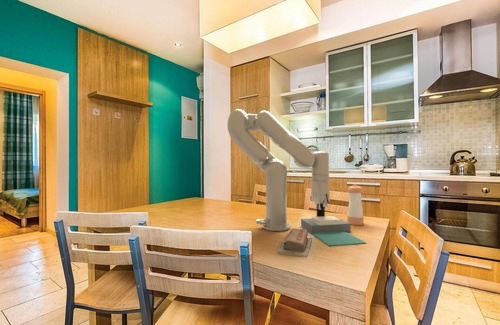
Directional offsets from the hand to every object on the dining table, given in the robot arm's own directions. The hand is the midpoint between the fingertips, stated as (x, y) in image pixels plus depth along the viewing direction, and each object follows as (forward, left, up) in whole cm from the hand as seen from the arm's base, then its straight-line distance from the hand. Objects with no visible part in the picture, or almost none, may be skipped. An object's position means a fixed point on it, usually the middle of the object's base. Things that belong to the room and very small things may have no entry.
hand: (320, 217), depth 113 cm
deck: (+1, -2, -5) cm, 5 cm away
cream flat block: (0, -5, -1) cm, 5 cm away
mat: (-1, -16, -5) cm, 16 cm away
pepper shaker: (+20, +4, -5) cm, 21 cm away
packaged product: (-20, -21, -5) cm, 29 cm away
